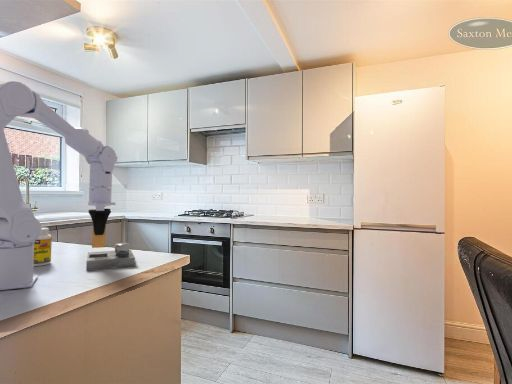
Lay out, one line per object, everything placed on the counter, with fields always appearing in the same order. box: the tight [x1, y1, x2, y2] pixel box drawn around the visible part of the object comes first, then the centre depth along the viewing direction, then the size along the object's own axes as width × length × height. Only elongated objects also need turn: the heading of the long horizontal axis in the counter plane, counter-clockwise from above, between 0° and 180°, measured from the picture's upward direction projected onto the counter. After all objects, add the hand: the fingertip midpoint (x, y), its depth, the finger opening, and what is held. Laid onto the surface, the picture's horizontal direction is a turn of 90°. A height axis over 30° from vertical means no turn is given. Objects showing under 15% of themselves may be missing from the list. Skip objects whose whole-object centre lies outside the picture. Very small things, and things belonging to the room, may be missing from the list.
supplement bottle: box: [33, 227, 53, 267], centre depth 82 cm, size 6×6×10 cm
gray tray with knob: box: [85, 242, 136, 271], centre depth 85 cm, size 12×12×6 cm
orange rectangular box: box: [91, 225, 107, 249], centre depth 84 cm, size 3×3×7 cm
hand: (99, 233), depth 84 cm, fingers closed on orange rectangular box, 3 cm apart
